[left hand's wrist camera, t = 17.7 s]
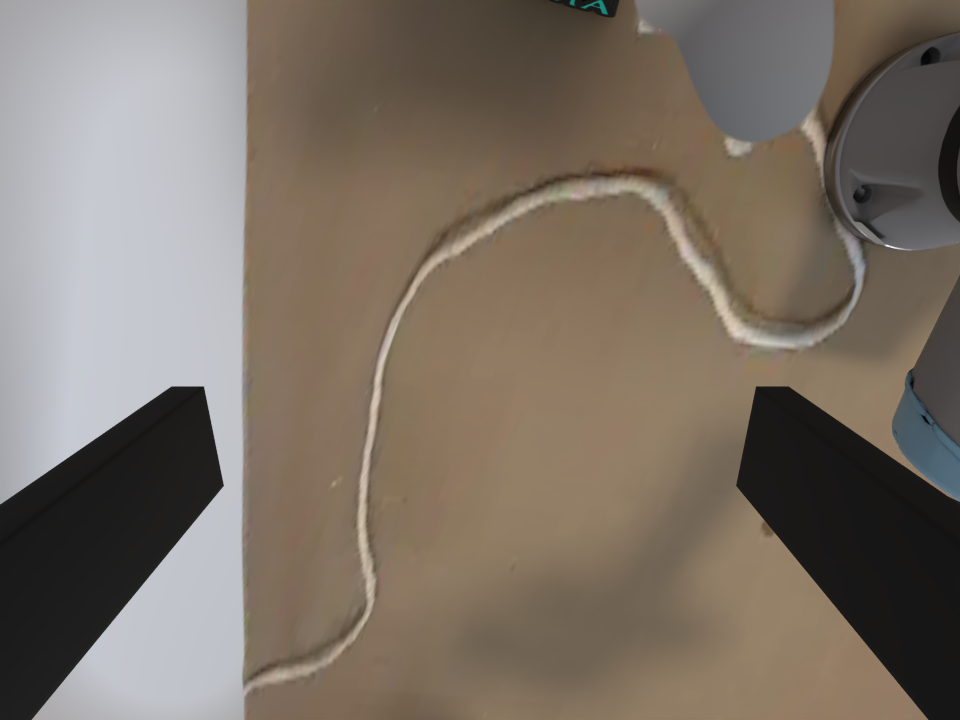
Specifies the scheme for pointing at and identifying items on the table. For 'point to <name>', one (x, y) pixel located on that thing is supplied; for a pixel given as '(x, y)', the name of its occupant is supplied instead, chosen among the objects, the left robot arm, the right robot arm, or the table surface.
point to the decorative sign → (593, 6)
